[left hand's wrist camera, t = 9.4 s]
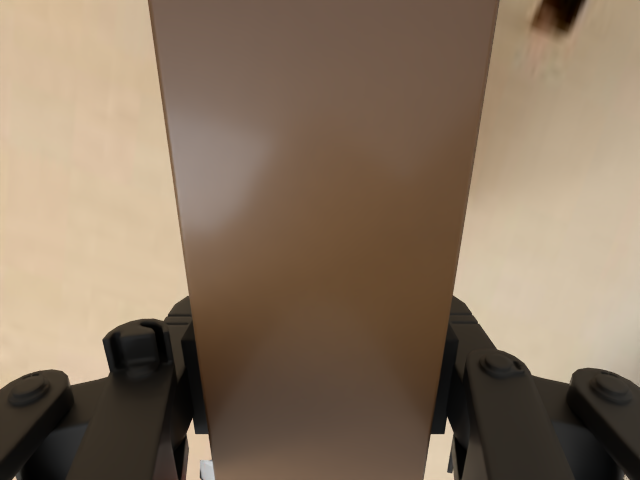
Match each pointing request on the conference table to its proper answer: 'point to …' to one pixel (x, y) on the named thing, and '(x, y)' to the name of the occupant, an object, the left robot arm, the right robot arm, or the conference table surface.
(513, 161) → the conference table surface
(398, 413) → the beam
